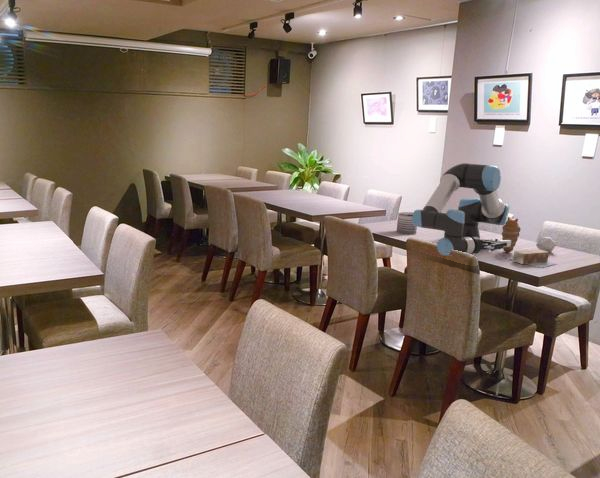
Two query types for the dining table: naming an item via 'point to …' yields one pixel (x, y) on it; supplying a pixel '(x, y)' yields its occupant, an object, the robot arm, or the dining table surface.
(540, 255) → the block
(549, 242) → the grey knobbly ball
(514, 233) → the cat ice cream
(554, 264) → the mat
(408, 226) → the can
